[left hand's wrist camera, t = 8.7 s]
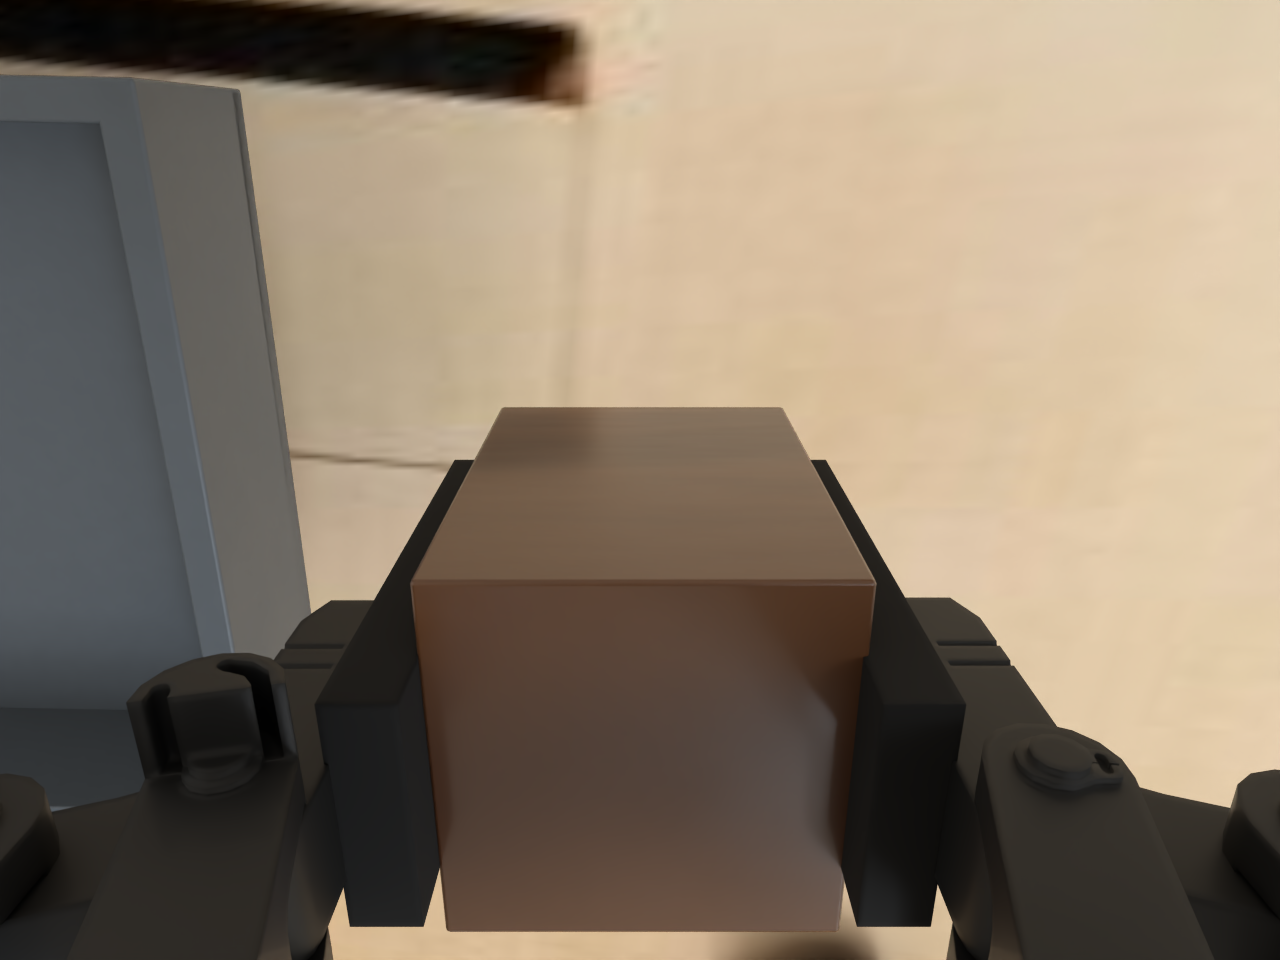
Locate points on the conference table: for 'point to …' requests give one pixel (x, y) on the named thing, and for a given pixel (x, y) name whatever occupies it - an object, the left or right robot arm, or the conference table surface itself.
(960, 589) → the conference table surface
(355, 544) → the conference table surface
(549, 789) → the block
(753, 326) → the conference table surface
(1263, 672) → the conference table surface
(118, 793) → the tray
